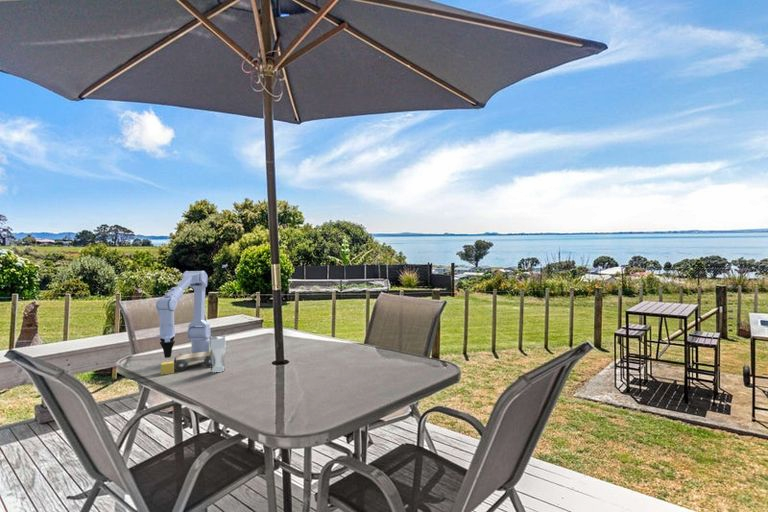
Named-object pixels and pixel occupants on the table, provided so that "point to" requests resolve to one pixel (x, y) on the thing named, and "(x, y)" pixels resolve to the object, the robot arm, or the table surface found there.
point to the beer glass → (217, 353)
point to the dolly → (191, 359)
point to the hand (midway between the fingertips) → (167, 355)
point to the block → (167, 367)
